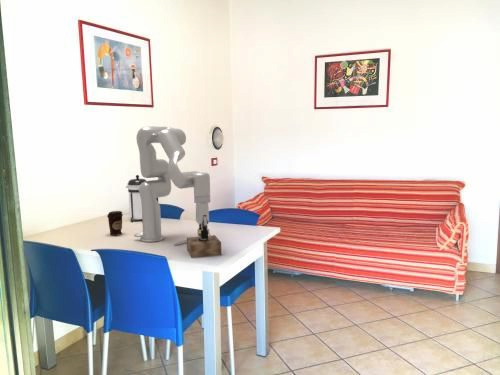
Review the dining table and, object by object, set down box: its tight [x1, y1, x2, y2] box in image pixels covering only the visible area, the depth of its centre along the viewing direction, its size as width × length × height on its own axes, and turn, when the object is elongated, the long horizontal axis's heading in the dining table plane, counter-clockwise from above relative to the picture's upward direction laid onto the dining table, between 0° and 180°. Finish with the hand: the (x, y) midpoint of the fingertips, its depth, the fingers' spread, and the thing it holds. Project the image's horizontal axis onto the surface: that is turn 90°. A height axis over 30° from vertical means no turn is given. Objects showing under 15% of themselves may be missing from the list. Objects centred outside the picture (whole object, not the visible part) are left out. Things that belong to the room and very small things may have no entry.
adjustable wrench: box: [173, 233, 212, 247], centre depth 215 cm, size 25×6×2 cm, turn 139°
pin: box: [197, 228, 210, 241], centre depth 192 cm, size 6×6×8 cm
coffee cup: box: [106, 210, 124, 237], centre depth 230 cm, size 9×8×13 cm
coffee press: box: [125, 174, 159, 223], centre depth 269 cm, size 17×16×30 cm
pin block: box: [186, 234, 222, 259], centre depth 193 cm, size 14×14×6 cm
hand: (203, 236), depth 192 cm, fingers closed on pin, 5 cm apart
